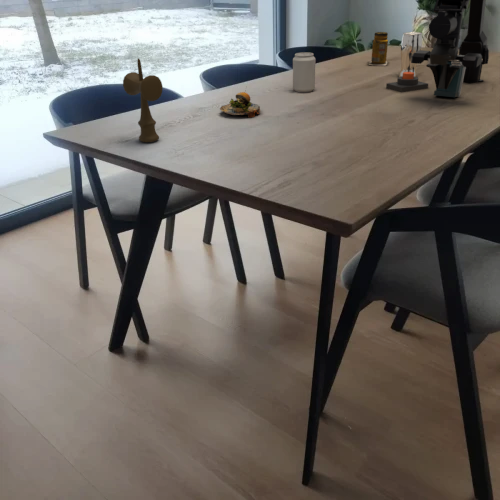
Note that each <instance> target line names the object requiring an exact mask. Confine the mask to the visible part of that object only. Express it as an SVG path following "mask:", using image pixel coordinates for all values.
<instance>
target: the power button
mask: <svg viewBox="0 0 500 500" xmlns="http://www.w3.org/2000/svg"><path fill="white" fill-rule="evenodd" d="M402 79H414V73H413V72H403V77H402Z"/></svg>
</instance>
